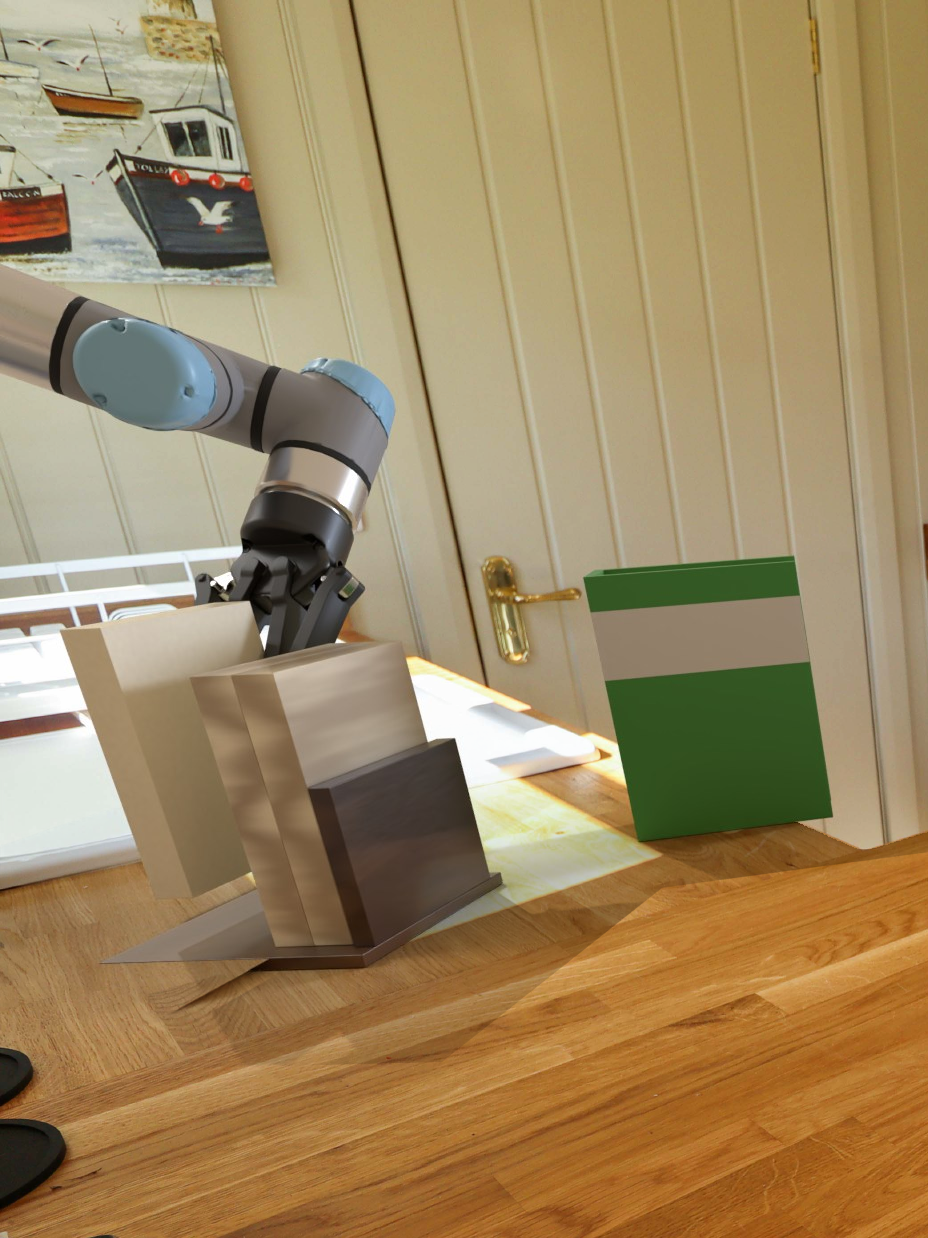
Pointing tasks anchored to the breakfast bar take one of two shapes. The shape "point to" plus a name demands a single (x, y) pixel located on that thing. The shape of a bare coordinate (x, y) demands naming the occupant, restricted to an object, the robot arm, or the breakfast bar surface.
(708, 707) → the hardback book
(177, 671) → the thin cream book
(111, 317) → the robot arm
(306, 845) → the book rack
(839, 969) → the breakfast bar surface
